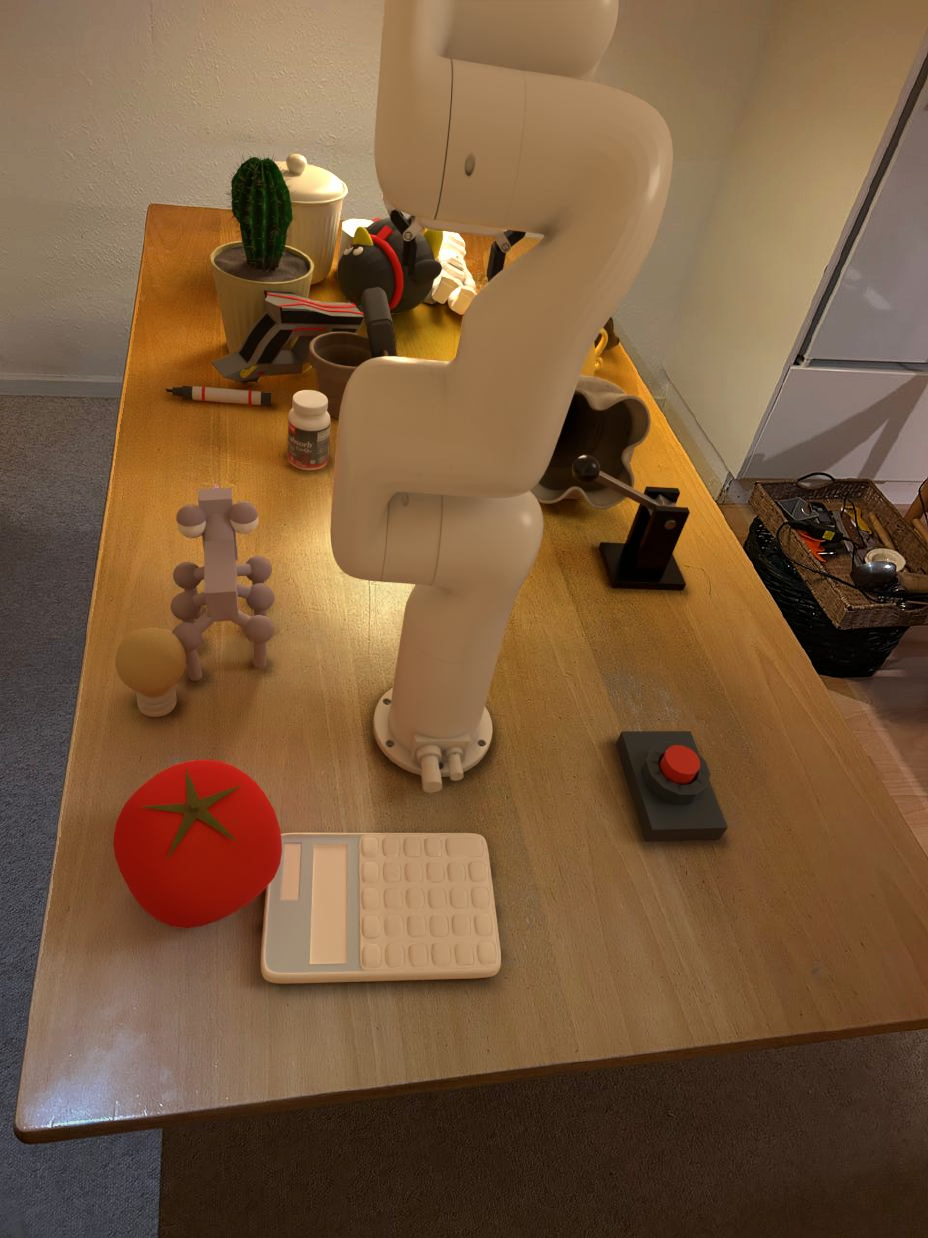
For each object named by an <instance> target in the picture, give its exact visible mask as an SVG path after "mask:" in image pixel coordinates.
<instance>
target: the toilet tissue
mask: <svg viewBox="0 0 928 1238" xmlns="http://www.w3.org/2000/svg"><path fill="white" fill-rule="evenodd" d="M371 223H373V222H372V220H369V219H362V218H350V219H348V220H344V221H342V223H341V230H340V238H339V246H338V253H337V254H338V255H337V262H336V270H337V269H338V263H339V261H340V259H341V257H342V255H343V253H344V251H345V250H346V249H347V248H348V247H350V245H351V243H352V241H353V239H354V233H355V231H356V228H357V227H359V226H362V227H364V228H367V227H368V226H369V225H370V224H371Z"/></svg>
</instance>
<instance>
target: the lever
mask: <svg viewBox="0 0 928 1238" xmlns="http://www.w3.org/2000/svg"><path fill="white" fill-rule="evenodd" d="M572 475H573V477H574V478H575V479H576V480H577V481H578V482H580V483H585V484H586V483H591V482H593V481H594V480H595V481H597V482H599V483H601V484H603V485H605V486H607V487H609V488H611V489H613V490H614V491H616V492H618V493H620V494H622V495H624V496H626V497H627V498H628V499H629V500H631V501H633V502H635V503H637V504H638V505H639V504H641V505H643V506H645V507H647V509H648V511H649V513H650V515H652V512H653V509H654V507H655V506H670V507H678V506H677V503H676V504H675V503H674V502H672V501H671V500H669V499H667V498H665V497H663V496H661V495H659V496H658V497H657V498H656V499H655V500H654V499H652V498H650V497H648V496H647V495H645V494H644V492H641V491H639V490H637V489H635V488H634V487H633V488H632V487H630V486H628V485H626V484H624V483H622V482H620V481H619V480H617V479H615V478H613V477H611V476H609V475H607V474H606V473H604V472H602V471H600V464H599V462H598V460H597V459H596V458H595V457H593V456H591V455H582V456H579V457H578V458H577V459H576V460H575V461H574V462H573V464H572Z"/></svg>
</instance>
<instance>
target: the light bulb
mask: <svg viewBox="0 0 928 1238" xmlns="http://www.w3.org/2000/svg"><path fill="white" fill-rule="evenodd" d="M114 663H115V669H116V672H117V675H118V677H119V678H120V680H121V681H122V683H123V684H124V685H125V686H127V688H129V689H130V690H132V691H134V692H135V696H136V703H137V708H138V710H139V711H140V712H141V713H142V714H143V715H145V716H147V717H151V718H160V717H164V716H167V715H168V714H169V713H171V712H172V711H173V710H174V709H175V707H176V705H177V701H178V700H177V691H176V684H178V683H179V681H181V678H182V677H183V675H184V673H185V669H186V667H187V666H186V654H185V651H184V647H183V646H182V644H181V642H180V640H179V639H178V638H177V637H176V636H175V635H174V634H173V633H172V631H170V630H168V629H166V628H163V627H162V628H161V627H153V626H152V627H142V628H139V629H136V630H133V631H131V632H129V633H128V634H127V635H126V636H125V637H124V638H123V639H122V640H121V642H120V643H119V644H118V648H117V650H116V653H115V662H114Z"/></svg>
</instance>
